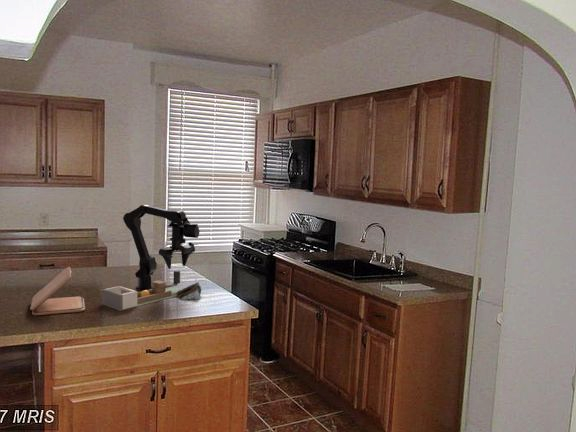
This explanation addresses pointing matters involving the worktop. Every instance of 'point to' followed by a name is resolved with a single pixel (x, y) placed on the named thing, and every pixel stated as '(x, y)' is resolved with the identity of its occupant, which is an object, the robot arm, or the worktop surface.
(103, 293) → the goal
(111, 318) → the worktop surface
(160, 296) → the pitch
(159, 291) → the sled
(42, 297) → the case
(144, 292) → the ball
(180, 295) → the chocolate cake
